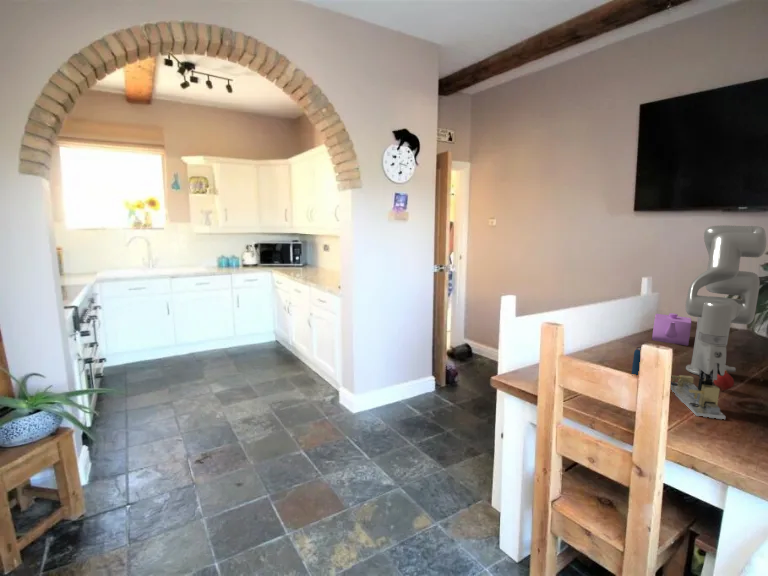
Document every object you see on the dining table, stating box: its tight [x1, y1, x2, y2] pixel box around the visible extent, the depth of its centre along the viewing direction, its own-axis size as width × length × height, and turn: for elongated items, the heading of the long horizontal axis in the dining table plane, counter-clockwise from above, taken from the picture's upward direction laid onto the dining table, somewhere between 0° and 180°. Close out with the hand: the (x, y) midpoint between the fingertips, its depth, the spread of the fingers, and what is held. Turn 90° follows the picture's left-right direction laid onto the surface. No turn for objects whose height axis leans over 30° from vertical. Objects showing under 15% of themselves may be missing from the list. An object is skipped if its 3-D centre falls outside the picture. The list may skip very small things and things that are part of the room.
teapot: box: [651, 312, 692, 347], centre depth 209 cm, size 15×25×14 cm, turn 144°
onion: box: [713, 370, 735, 392], centre depth 149 cm, size 6×6×8 cm
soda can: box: [631, 346, 642, 375], centre depth 159 cm, size 7×7×12 cm
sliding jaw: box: [689, 384, 721, 407], centre depth 134 cm, size 8×2×7 cm, turn 73°
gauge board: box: [670, 374, 726, 421], centre depth 141 cm, size 8×26×5 cm, turn 163°
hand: (704, 391), depth 137 cm, fingers closed
